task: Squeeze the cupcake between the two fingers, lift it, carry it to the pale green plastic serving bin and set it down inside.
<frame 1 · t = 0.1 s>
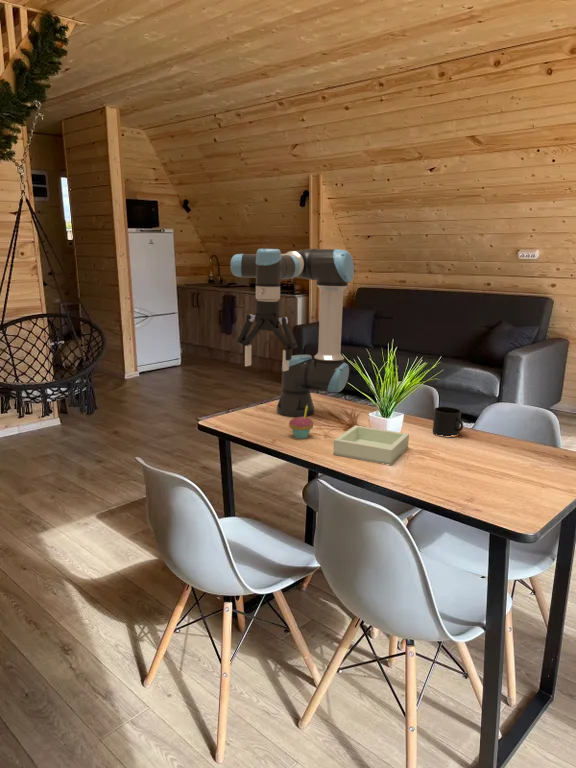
hand: (266, 368, 191), 28 cm above the table, fingers open, 13 cm apart
cupcake: (300, 437, 214), on the table
mug: (448, 435, 221), on the table
serving bin: (371, 451, 200), on the table
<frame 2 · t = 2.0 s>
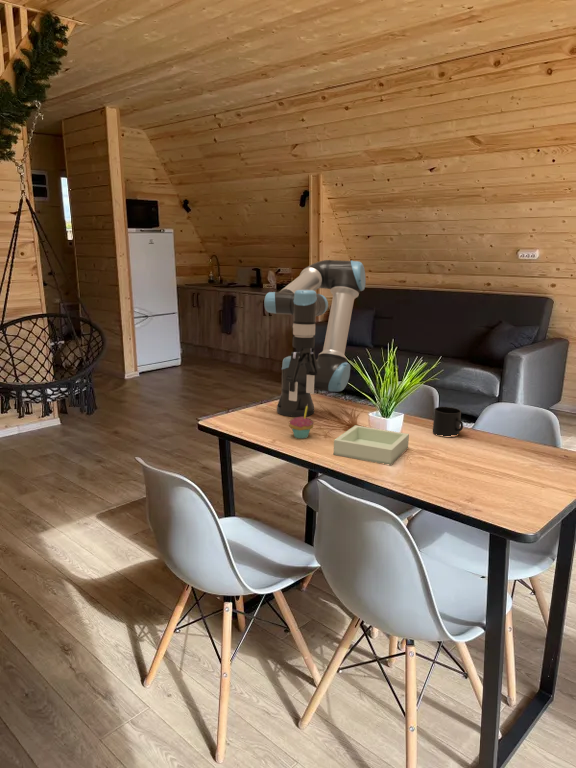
hand: (301, 396, 210), 15 cm above the table, fingers open, 13 cm apart
nothing on the table moved.
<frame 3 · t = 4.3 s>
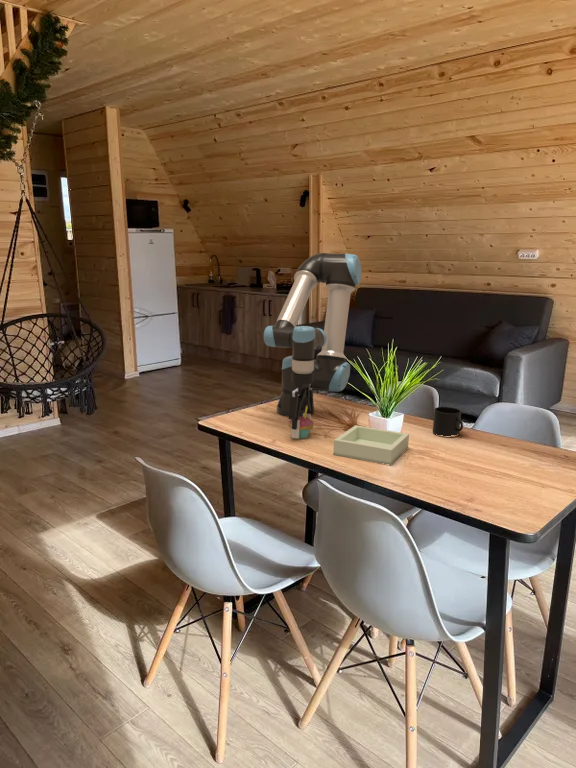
hand: (300, 434, 214), 1 cm above the table, fingers closed on cupcake, 8 cm apart
cupcake: (300, 437, 214), on the table, touching gripper
everything else where it was.
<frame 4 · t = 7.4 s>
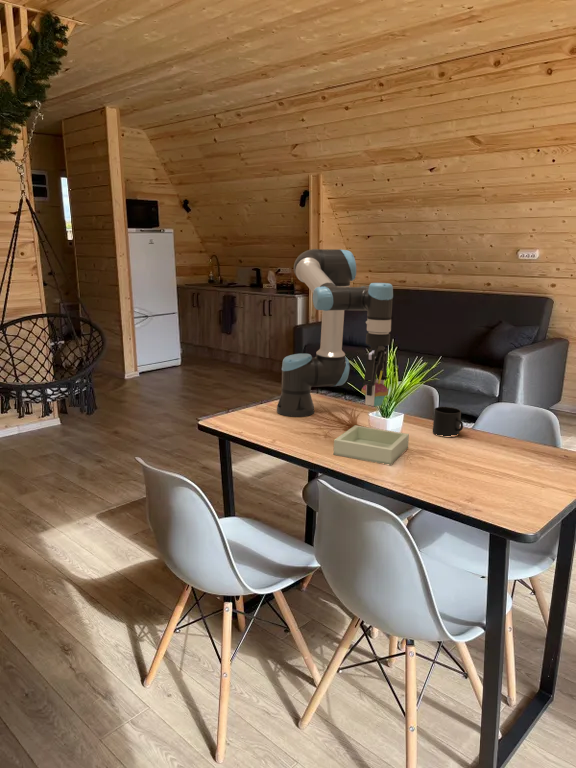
hand: (374, 401, 197), 17 cm above the table, fingers closed on cupcake, 8 cm apart
cupcake: (374, 404, 197), point 16 cm above the table, touching gripper
everything else where it was.
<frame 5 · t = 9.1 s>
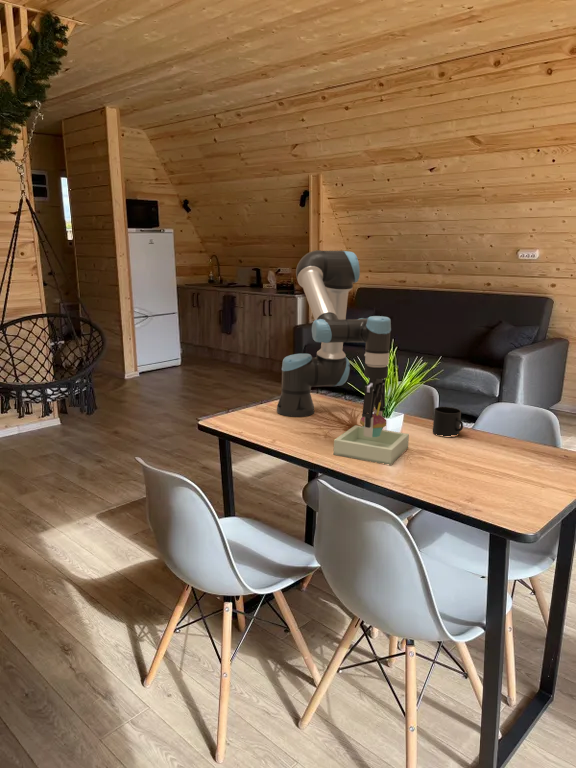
hand: (372, 432, 199), 6 cm above the table, fingers closed on cupcake, 8 cm apart
cupcake: (372, 435, 199), point 5 cm above the table, touching gripper
everything else where it was.
when the fingers open (4 cm above the table, at t = 10.5 s): cupcake drops 3 cm, resting on serving bin.
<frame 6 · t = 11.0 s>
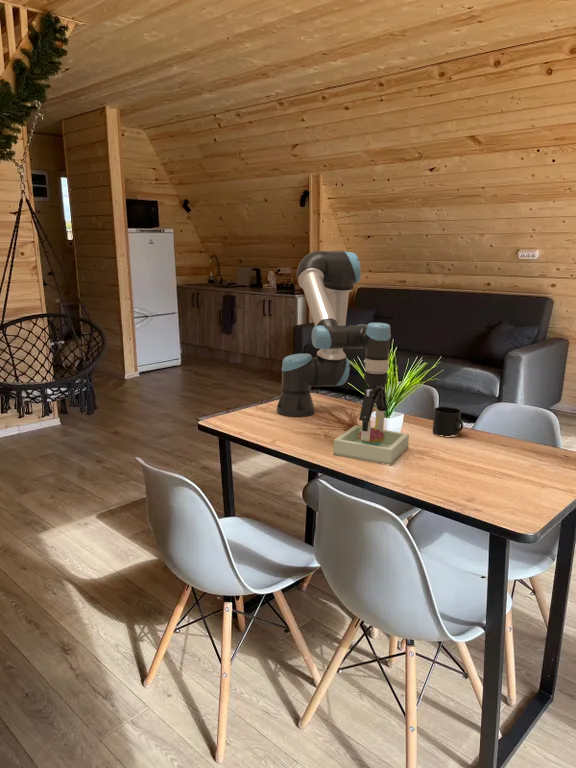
hand: (372, 434, 199), 6 cm above the table, fingers open, 13 cm apart
cupcake: (370, 449, 200), point 1 cm above the table, touching serving bin
everything else where it was.
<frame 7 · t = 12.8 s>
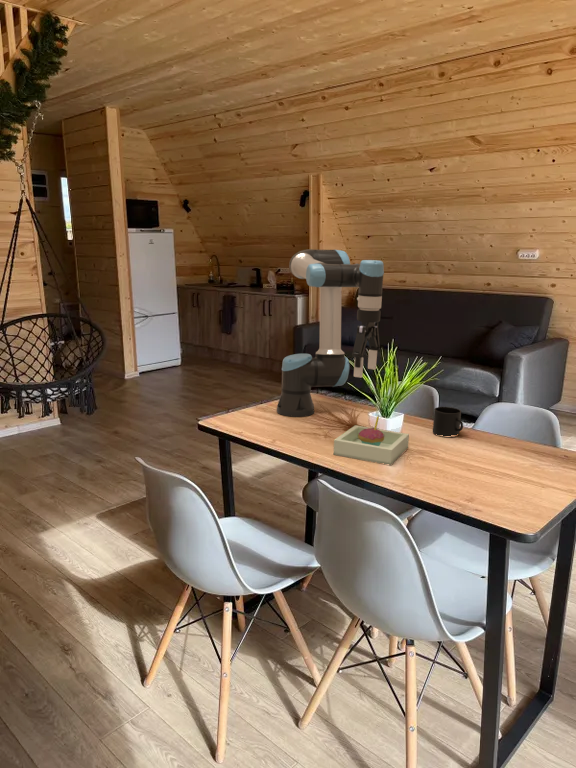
hand: (365, 372, 201), 25 cm above the table, fingers open, 13 cm apart
nothing on the table moved.
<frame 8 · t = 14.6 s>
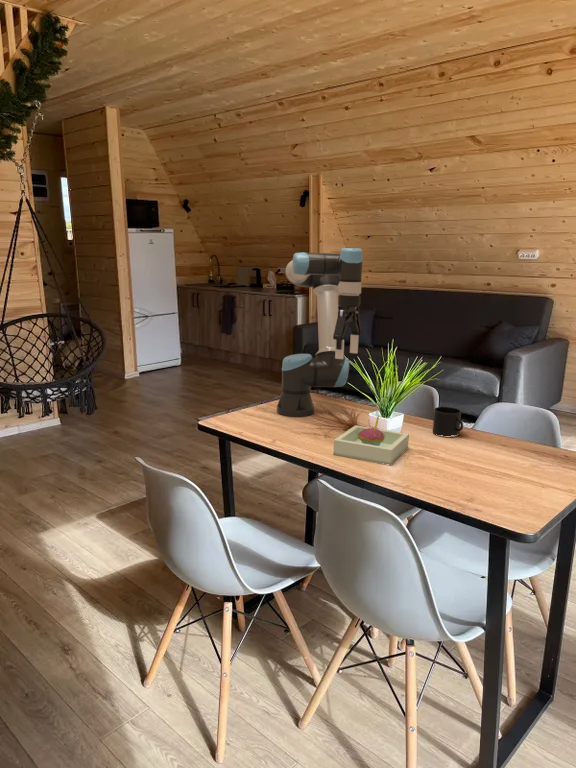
hand: (346, 355, 211), 29 cm above the table, fingers open, 13 cm apart
nothing on the table moved.
at the end: cupcake inside the target area on the serving bin (0.6 cm from its centre), point 0.6 cm above the serving bin's base; cupcake tilted 0°; the gripper is holding nothing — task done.
